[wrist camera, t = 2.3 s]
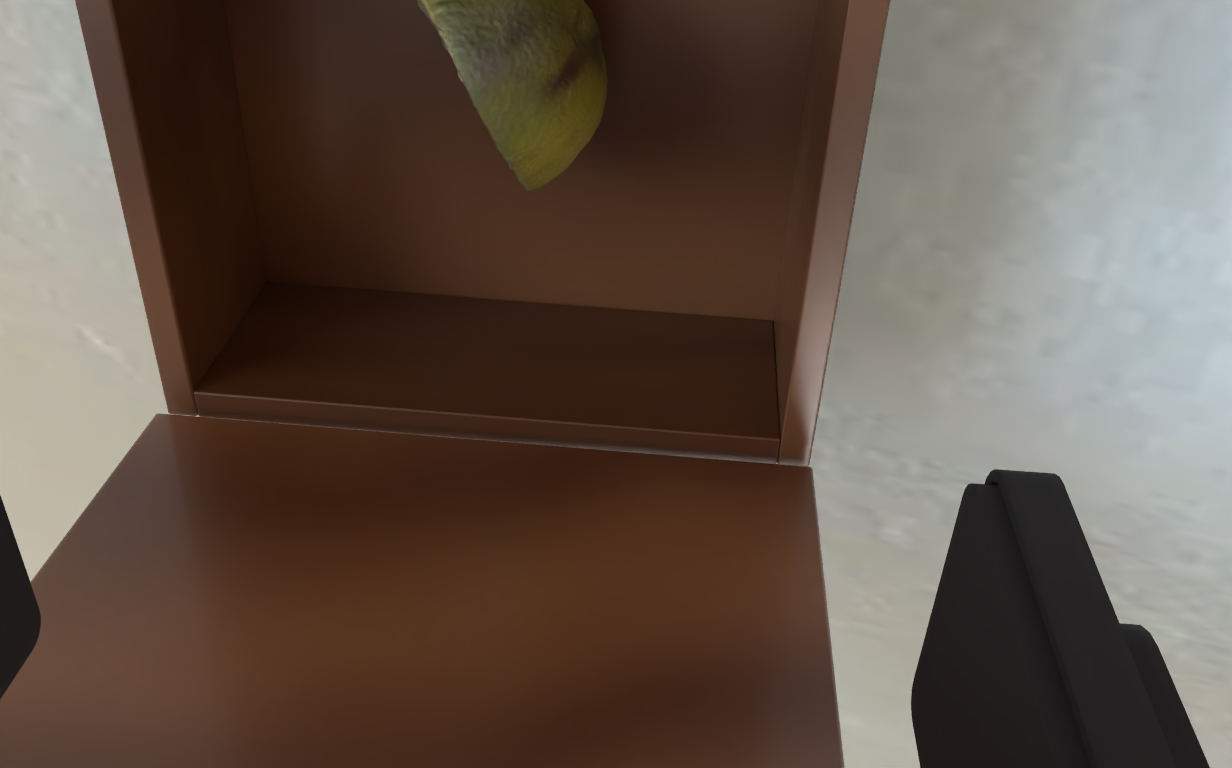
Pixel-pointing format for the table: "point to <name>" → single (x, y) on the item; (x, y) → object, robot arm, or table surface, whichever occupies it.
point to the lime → (528, 76)
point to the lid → (427, 609)
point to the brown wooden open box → (491, 222)
